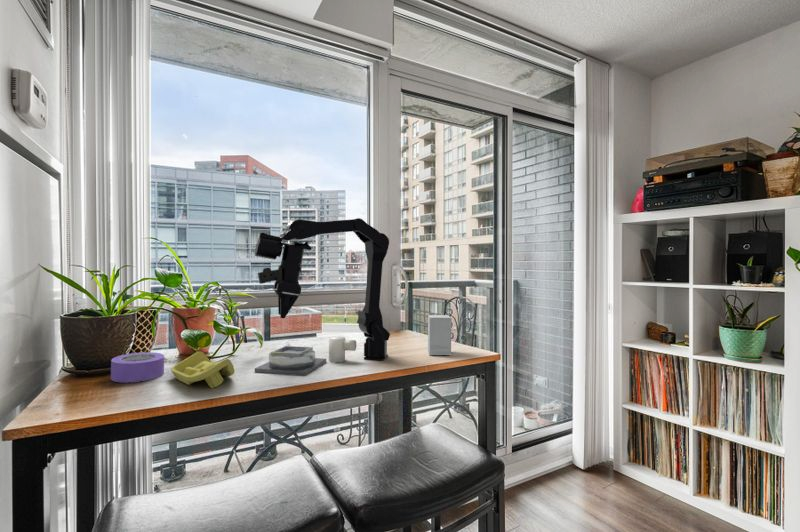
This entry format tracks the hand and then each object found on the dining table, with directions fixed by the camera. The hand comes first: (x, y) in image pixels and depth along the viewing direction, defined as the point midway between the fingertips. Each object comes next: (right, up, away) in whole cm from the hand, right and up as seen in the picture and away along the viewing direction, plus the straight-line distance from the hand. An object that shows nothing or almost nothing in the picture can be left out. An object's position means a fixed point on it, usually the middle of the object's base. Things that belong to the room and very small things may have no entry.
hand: (281, 316), depth 116 cm
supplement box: (+47, -15, +20) cm, 54 cm away
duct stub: (+3, -15, +2) cm, 15 cm away
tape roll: (-35, -15, -9) cm, 39 cm away
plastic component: (-16, -15, -13) cm, 26 cm away
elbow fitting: (+16, -15, +9) cm, 24 cm away
